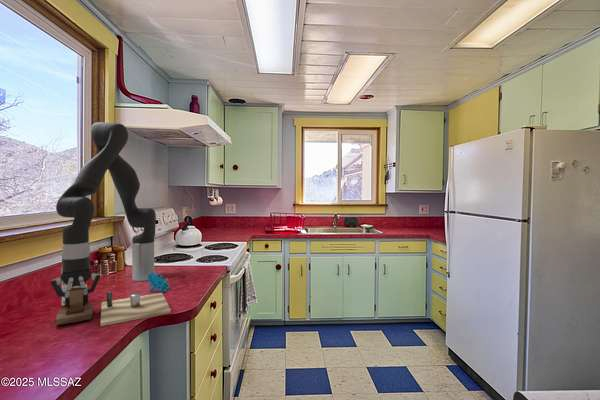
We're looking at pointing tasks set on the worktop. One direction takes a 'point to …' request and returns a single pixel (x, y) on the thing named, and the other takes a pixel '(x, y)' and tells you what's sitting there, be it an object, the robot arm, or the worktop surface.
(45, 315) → the worktop surface
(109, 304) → the stop pin
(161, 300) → the board
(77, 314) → the wooden display stand
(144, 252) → the robot arm
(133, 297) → the post
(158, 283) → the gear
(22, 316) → the worktop surface
